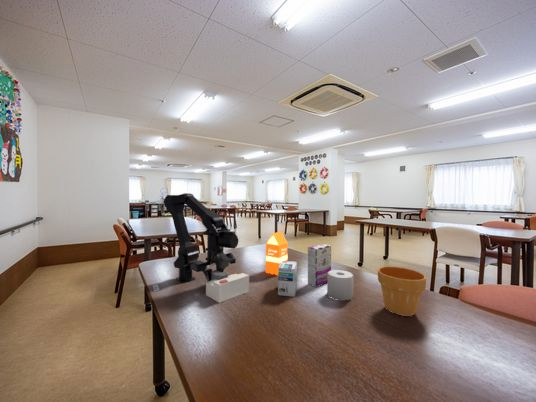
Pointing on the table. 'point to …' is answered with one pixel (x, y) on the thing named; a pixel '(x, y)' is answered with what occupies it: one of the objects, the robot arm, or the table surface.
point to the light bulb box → (287, 278)
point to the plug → (217, 275)
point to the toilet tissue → (340, 284)
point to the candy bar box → (319, 264)
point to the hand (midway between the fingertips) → (214, 282)
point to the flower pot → (401, 288)
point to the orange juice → (275, 252)
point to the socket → (228, 287)
